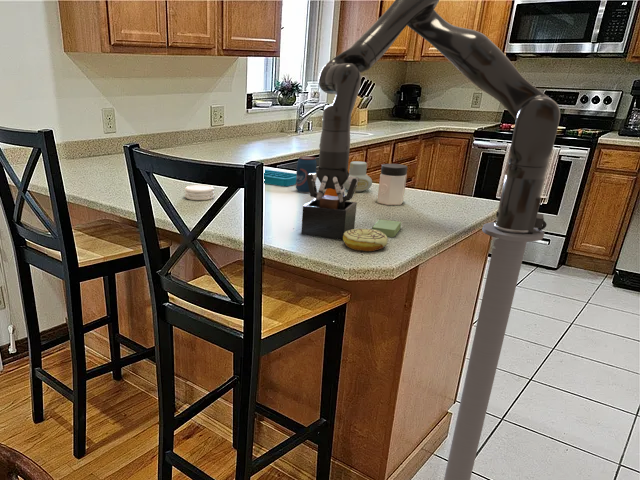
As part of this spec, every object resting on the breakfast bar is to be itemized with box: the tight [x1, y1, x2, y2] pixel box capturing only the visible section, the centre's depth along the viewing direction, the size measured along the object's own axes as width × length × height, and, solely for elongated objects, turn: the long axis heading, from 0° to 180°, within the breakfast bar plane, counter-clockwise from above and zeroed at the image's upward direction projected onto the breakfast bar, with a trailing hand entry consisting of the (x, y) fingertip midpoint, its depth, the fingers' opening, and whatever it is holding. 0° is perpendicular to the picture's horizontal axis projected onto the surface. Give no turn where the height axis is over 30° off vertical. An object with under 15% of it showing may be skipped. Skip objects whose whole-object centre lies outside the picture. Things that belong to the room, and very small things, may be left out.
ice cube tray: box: [263, 168, 297, 187], centre depth 205 cm, size 12×20×3 cm, turn 52°
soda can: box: [295, 155, 318, 194], centre depth 187 cm, size 7×7×12 cm
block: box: [320, 195, 339, 209], centre depth 139 cm, size 5×5×5 cm
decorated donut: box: [342, 228, 389, 252], centre depth 131 cm, size 10×11×4 cm
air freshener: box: [343, 160, 373, 193], centre depth 189 cm, size 11×8×10 cm
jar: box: [377, 163, 408, 206], centre depth 172 cm, size 9×8×12 cm
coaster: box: [184, 184, 215, 201], centre depth 179 cm, size 10×10×4 cm
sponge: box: [371, 218, 402, 238], centre depth 143 cm, size 9×6×2 cm, turn 154°
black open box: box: [301, 198, 358, 241], centre depth 141 cm, size 12×11×8 cm
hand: (329, 214), depth 140 cm, fingers closed on block, 4 cm apart
